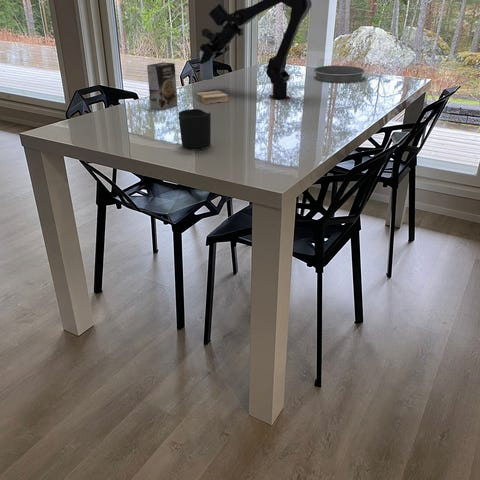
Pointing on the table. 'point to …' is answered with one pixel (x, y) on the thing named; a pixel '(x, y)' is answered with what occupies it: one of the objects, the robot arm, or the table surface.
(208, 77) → the canister
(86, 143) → the table surface
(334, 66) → the cake pan
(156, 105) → the coffee box
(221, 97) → the oak base block
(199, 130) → the pen holder
